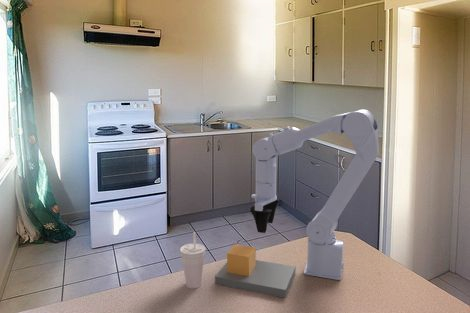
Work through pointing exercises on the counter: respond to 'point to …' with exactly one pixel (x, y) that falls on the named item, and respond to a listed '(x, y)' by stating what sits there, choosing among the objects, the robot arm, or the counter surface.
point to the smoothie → (193, 262)
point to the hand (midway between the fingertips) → (265, 227)
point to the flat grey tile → (260, 278)
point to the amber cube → (241, 260)
